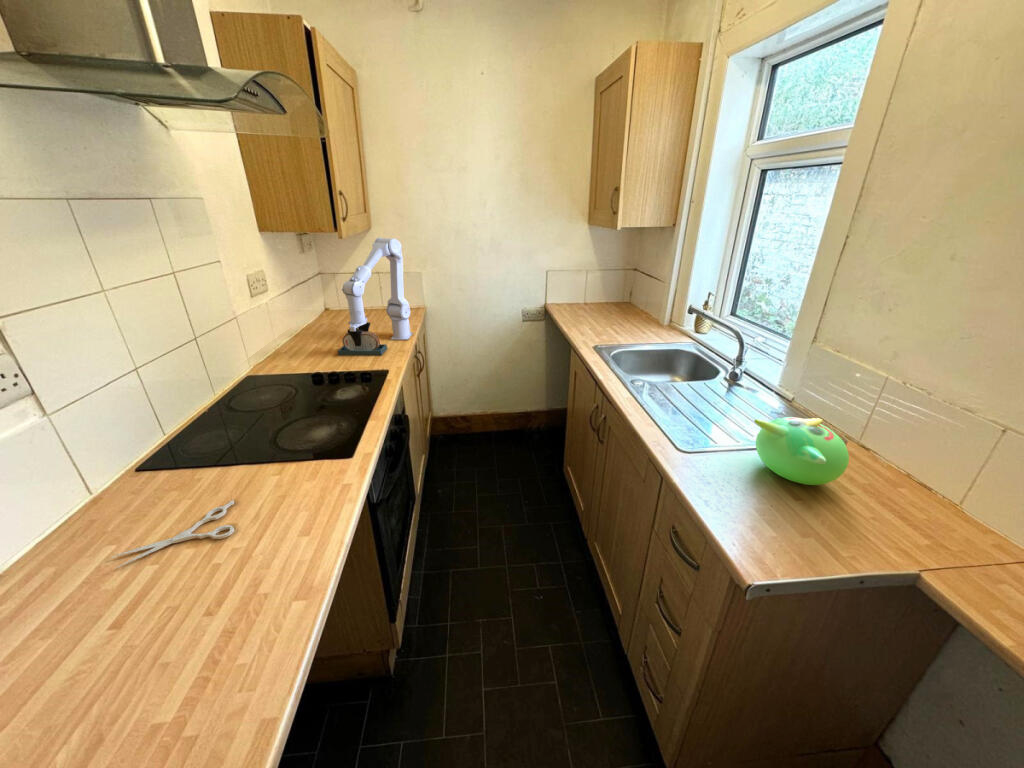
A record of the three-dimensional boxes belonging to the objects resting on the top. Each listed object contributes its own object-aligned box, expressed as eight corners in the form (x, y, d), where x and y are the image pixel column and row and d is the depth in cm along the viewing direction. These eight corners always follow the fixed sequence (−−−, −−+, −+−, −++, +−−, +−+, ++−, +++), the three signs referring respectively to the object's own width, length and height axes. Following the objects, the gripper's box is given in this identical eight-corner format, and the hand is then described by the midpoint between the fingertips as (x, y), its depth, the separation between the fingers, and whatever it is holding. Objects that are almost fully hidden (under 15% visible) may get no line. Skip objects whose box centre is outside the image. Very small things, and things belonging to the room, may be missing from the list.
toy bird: (851, 484, 95) (874, 429, 89) (811, 510, 88) (833, 451, 82) (773, 447, 109) (788, 397, 103) (733, 465, 102) (747, 413, 96)
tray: (346, 348, 180) (345, 344, 179) (387, 348, 179) (386, 344, 178) (338, 355, 172) (337, 350, 171) (381, 355, 172) (380, 351, 171)
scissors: (243, 527, 82) (107, 582, 70) (244, 530, 82) (109, 585, 71) (233, 499, 89) (109, 545, 78) (234, 502, 90) (110, 548, 78)
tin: (381, 350, 176) (378, 330, 173) (379, 352, 174) (376, 333, 170) (346, 349, 177) (342, 330, 173) (343, 352, 174) (339, 333, 170)
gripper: (353, 306, 175) (358, 337, 181) (339, 315, 162) (345, 348, 167) (370, 306, 175) (374, 337, 181) (357, 315, 162) (363, 348, 167)
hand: (361, 342), depth 174 cm, fingers open, 7 cm apart
